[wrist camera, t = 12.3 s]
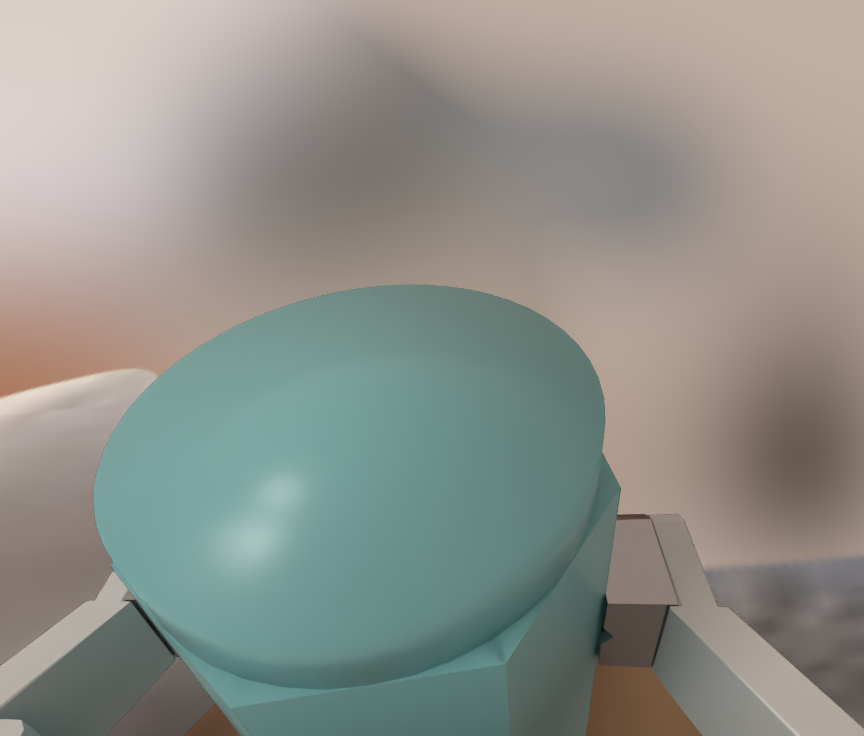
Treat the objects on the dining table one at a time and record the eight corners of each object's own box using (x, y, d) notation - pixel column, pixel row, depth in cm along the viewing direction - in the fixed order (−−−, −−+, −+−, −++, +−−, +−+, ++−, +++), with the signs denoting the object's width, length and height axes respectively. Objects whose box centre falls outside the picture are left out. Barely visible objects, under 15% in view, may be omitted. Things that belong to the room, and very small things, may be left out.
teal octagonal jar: (241, 741, 12) (12, 445, 7) (416, 549, 15) (358, 259, 10) (458, 1007, 8) (339, 828, 3) (619, 680, 12) (687, 345, 7)
